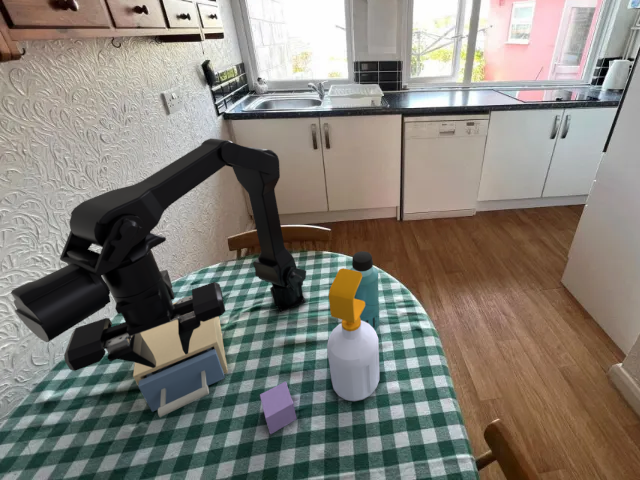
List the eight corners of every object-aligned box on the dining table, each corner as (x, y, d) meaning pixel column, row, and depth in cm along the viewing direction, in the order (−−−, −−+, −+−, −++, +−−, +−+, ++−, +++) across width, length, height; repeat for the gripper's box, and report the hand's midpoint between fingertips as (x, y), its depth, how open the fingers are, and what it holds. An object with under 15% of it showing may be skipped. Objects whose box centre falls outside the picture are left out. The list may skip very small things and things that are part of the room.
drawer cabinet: (228, 372, 61) (217, 341, 57) (150, 408, 55) (132, 376, 51) (219, 318, 73) (210, 290, 69) (154, 343, 67) (141, 313, 63)
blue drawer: (227, 400, 55) (218, 374, 52) (150, 438, 50) (135, 413, 47) (216, 325, 70) (209, 302, 67) (156, 348, 65) (145, 325, 62)
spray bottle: (385, 363, 62) (384, 264, 51) (369, 409, 54) (362, 303, 44) (344, 351, 64) (335, 254, 54) (323, 393, 57) (306, 289, 46)
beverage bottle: (366, 312, 74) (363, 242, 65) (386, 329, 69) (385, 255, 61) (345, 328, 70) (338, 255, 61) (364, 347, 65) (360, 271, 57)
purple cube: (289, 396, 56) (285, 381, 54) (296, 419, 53) (293, 403, 51) (264, 410, 54) (259, 394, 52) (270, 434, 51) (265, 418, 49)
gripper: (206, 236, 54) (227, 303, 61) (64, 274, 46) (106, 348, 52) (212, 271, 46) (236, 345, 52) (38, 327, 37) (92, 407, 44)
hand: (171, 358), depth 50 cm, fingers open, 4 cm apart
